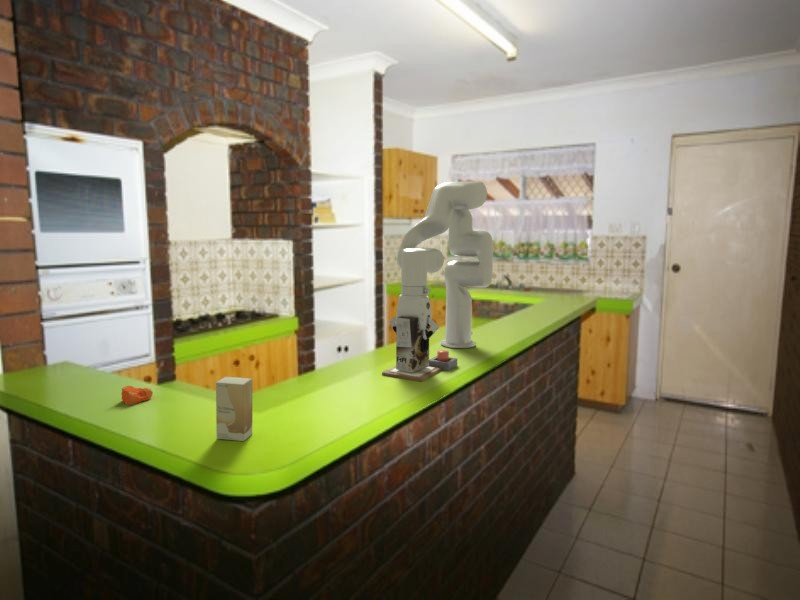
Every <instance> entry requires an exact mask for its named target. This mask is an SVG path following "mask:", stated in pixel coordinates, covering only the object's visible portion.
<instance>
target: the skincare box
mask: <svg viewBox="0 0 800 600" xmlns="http://www.w3.org/2000/svg"><path fill="white" fill-rule="evenodd" d="M215 402H216V404H215V405H216V406H215V407H216V408H215V412H216V413H215V415H216V416H215V417H216V422H215V423H216V427H215V429H216V439H218V440H228V441H236V442H237V441H239V442H244V441H246V440H247V439H248V438H250V437H251V436H252V435H253V378H247V377H232V376H224V377H223V378H221V379H219V380H217V381H216V382H215Z"/></svg>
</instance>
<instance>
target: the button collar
mask: <svg viewBox="0 0 800 600" xmlns="http://www.w3.org/2000/svg"><path fill="white" fill-rule="evenodd" d="M429 366H433V367H440V368H442V370H441V371H447V372H449V371H451V370H452V369H454V368H456V367H458V358H456V357H450V356H449V361H447V362H444V361H437V355H435V356H434V357H432V358H429Z"/></svg>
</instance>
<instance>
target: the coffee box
mask: <svg viewBox="0 0 800 600" xmlns="http://www.w3.org/2000/svg"><path fill="white" fill-rule="evenodd" d="M428 330H429V331H430V328H428ZM395 335H396V336H395V337H396V344H395V345H396V347H395V348H396V349H395V350H396V352H395V366H396V369H397V370H401V371H406V372H410V373H413V372H416V371H418V370H421V369H424V368H426V367H429V359H430V348H429V349H428V351H426V352H424V353H423V352H421V340H422V339H423V336H422V334H421V332H420V330H419V321H418V318H414V317H397V332H396V333H395Z"/></svg>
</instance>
